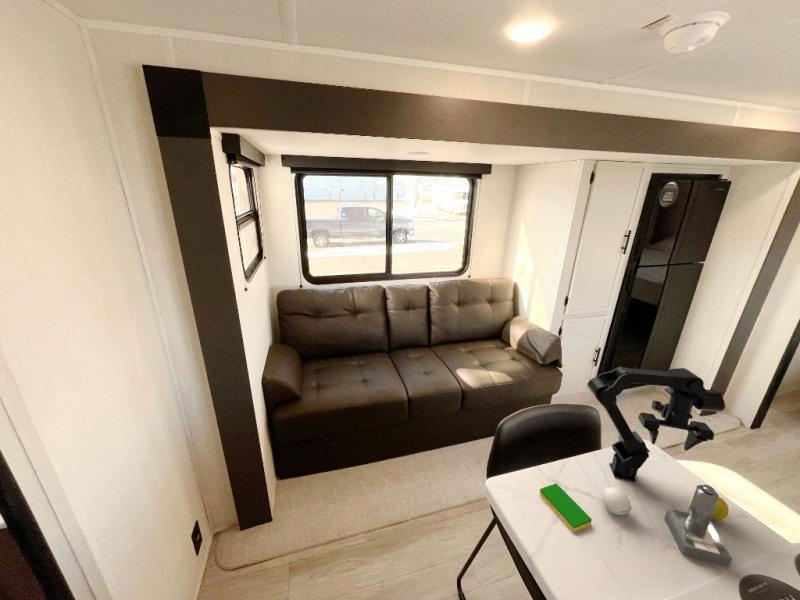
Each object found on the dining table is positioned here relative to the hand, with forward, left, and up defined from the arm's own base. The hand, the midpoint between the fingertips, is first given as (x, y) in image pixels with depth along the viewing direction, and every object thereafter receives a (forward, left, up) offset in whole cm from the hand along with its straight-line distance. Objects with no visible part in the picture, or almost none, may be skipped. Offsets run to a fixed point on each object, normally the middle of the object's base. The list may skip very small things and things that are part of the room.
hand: (668, 446), depth 107 cm
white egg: (-18, -19, -13) cm, 29 cm away
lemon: (+8, -13, -13) cm, 20 cm away
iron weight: (-1, -23, -9) cm, 24 cm away
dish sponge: (-34, -24, -14) cm, 44 cm away
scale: (-1, -23, -13) cm, 27 cm away
